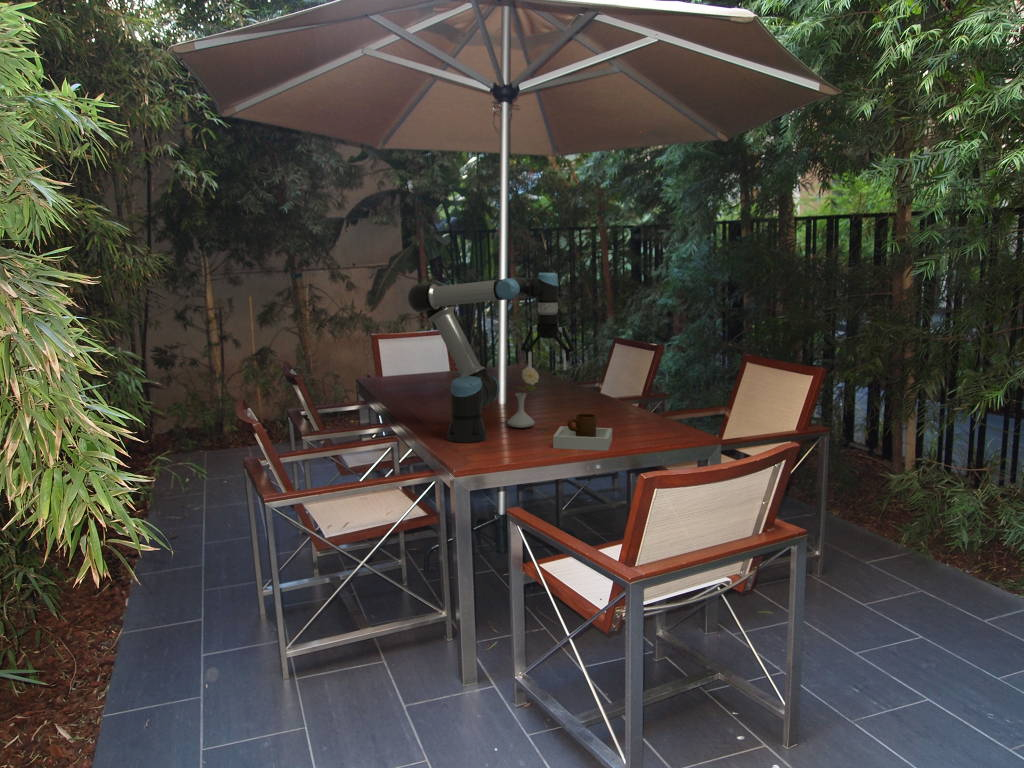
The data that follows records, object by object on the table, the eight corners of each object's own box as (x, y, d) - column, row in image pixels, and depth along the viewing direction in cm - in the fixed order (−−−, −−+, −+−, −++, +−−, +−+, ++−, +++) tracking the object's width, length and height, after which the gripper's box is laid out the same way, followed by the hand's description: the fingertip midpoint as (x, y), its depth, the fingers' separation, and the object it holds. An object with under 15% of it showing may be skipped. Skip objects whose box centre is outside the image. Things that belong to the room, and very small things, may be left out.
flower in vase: (510, 430, 325) (510, 369, 321) (504, 424, 336) (504, 365, 332) (541, 428, 327) (541, 368, 323) (535, 423, 338) (535, 364, 334)
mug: (573, 444, 294) (573, 419, 293) (561, 440, 301) (562, 416, 299) (599, 441, 300) (600, 416, 299) (588, 437, 307) (588, 412, 305)
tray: (553, 448, 294) (553, 436, 293) (560, 437, 311) (560, 426, 311) (607, 450, 290) (608, 438, 289) (612, 439, 307) (612, 428, 307)
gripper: (513, 313, 303) (513, 369, 306) (579, 314, 298) (578, 371, 301) (517, 312, 310) (517, 367, 313) (581, 313, 305) (581, 368, 308)
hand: (547, 369), depth 307 cm, fingers open, 13 cm apart
